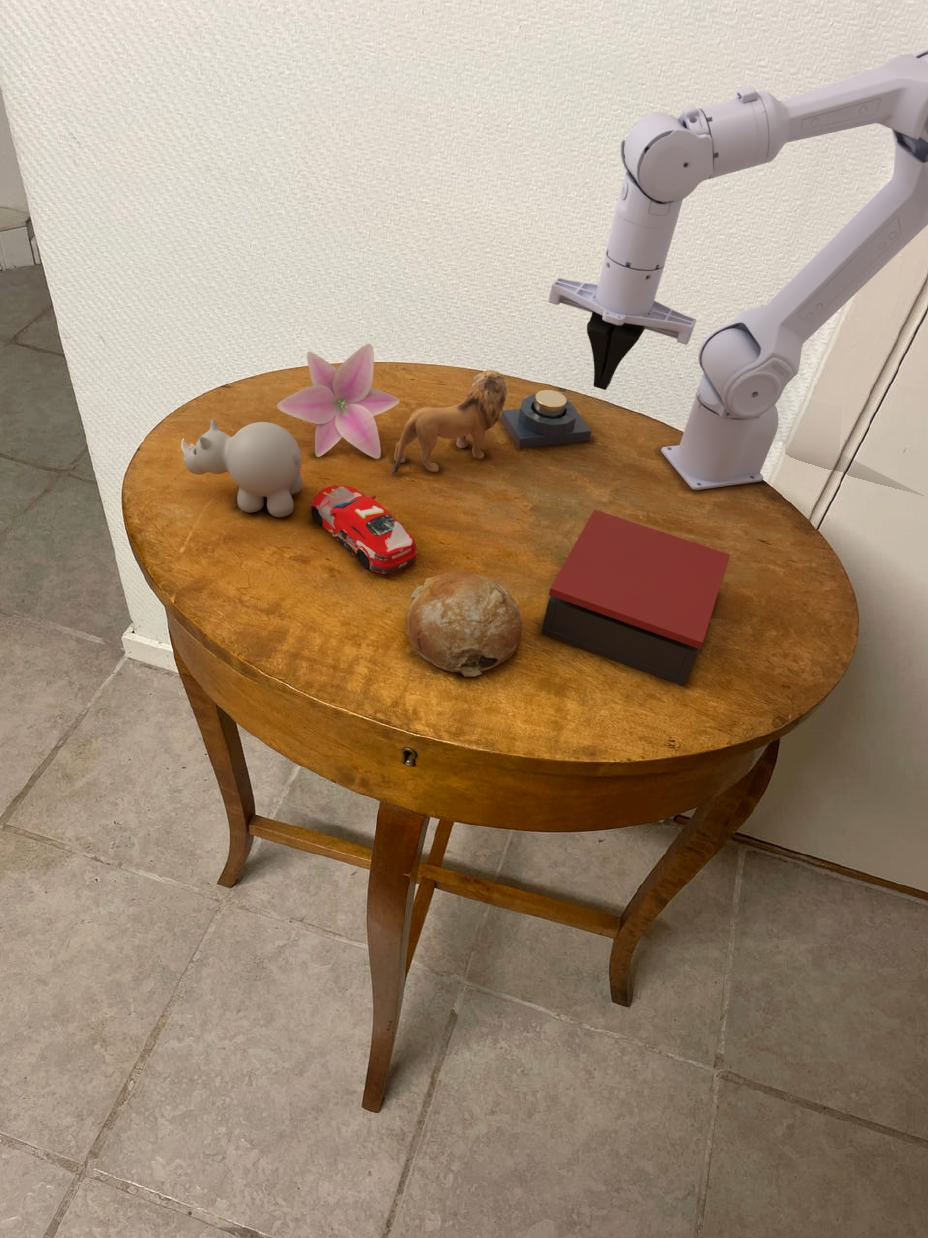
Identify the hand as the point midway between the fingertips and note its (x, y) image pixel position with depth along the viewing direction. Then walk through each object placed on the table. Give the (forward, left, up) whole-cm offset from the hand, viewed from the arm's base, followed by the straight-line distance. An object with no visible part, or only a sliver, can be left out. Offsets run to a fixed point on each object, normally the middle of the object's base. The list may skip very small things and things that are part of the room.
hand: (601, 384), depth 96 cm
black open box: (+6, +23, -10) cm, 26 cm away
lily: (+26, -10, -11) cm, 29 cm away
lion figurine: (+15, -5, -11) cm, 19 cm away
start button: (+2, -7, -8) cm, 11 cm away
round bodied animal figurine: (+38, -2, -11) cm, 39 cm away
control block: (+2, -7, -10) cm, 13 cm away
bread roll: (+23, +22, -11) cm, 33 cm away
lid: (+6, +23, -6) cm, 25 cm away
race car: (+28, +7, -11) cm, 30 cm away
